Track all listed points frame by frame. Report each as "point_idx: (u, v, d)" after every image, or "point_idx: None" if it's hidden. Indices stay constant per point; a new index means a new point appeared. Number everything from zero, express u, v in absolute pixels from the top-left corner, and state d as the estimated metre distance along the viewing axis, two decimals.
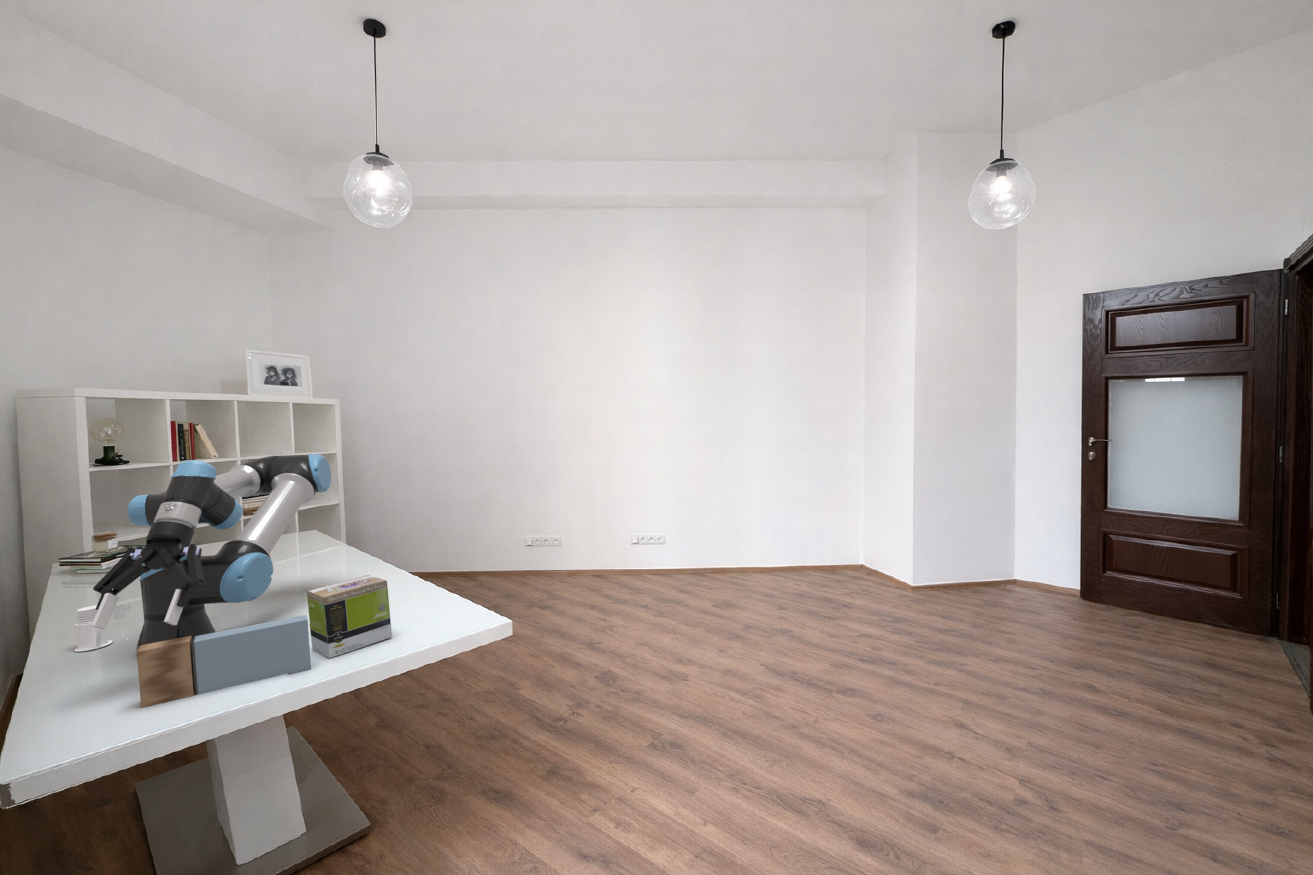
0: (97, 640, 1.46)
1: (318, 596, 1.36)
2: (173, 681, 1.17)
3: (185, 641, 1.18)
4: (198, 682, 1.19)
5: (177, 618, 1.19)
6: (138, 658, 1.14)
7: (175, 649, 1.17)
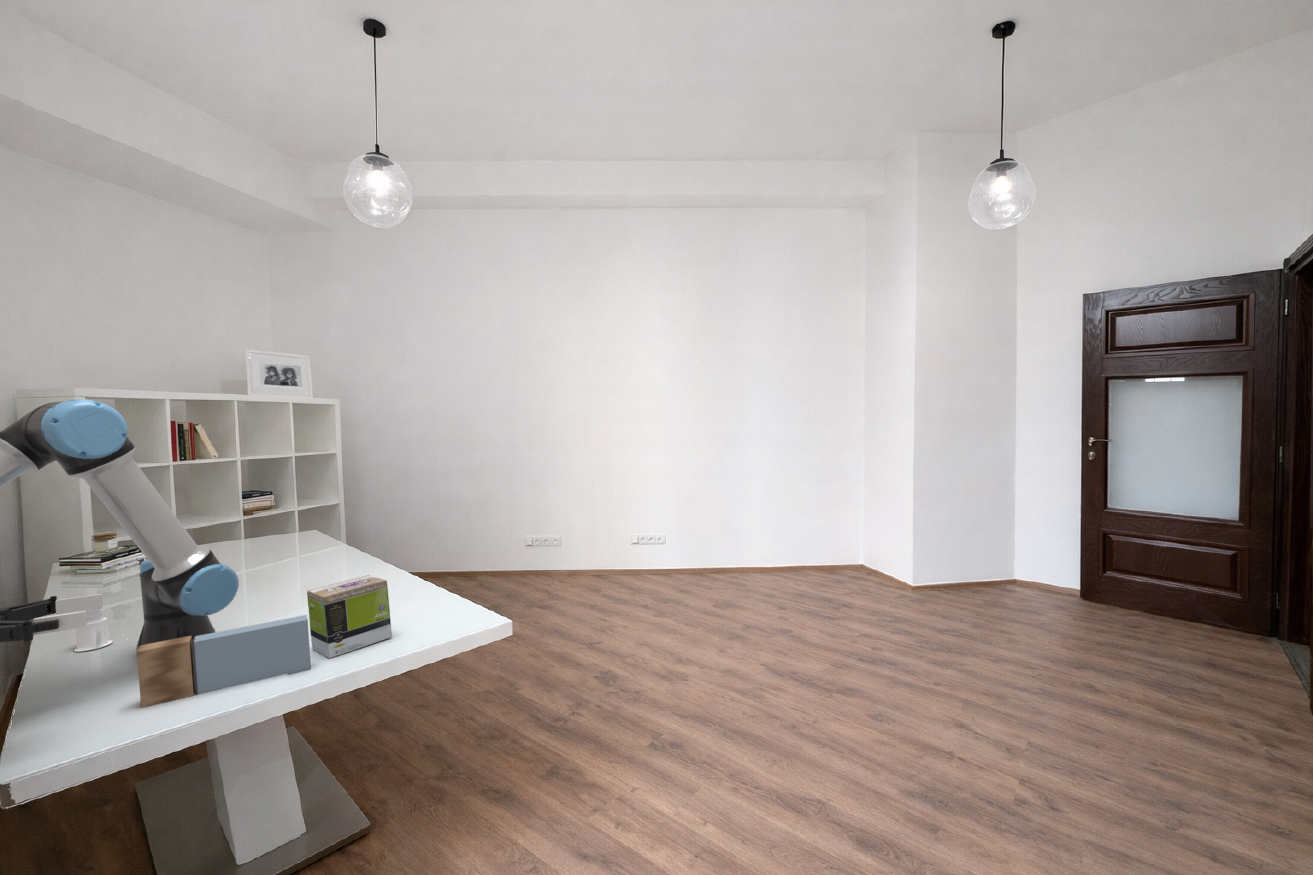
0: (97, 640, 1.46)
1: (318, 596, 1.36)
2: (173, 681, 1.17)
3: (185, 641, 1.18)
4: (198, 682, 1.19)
5: (75, 615, 1.05)
6: (138, 658, 1.14)
7: (175, 649, 1.17)
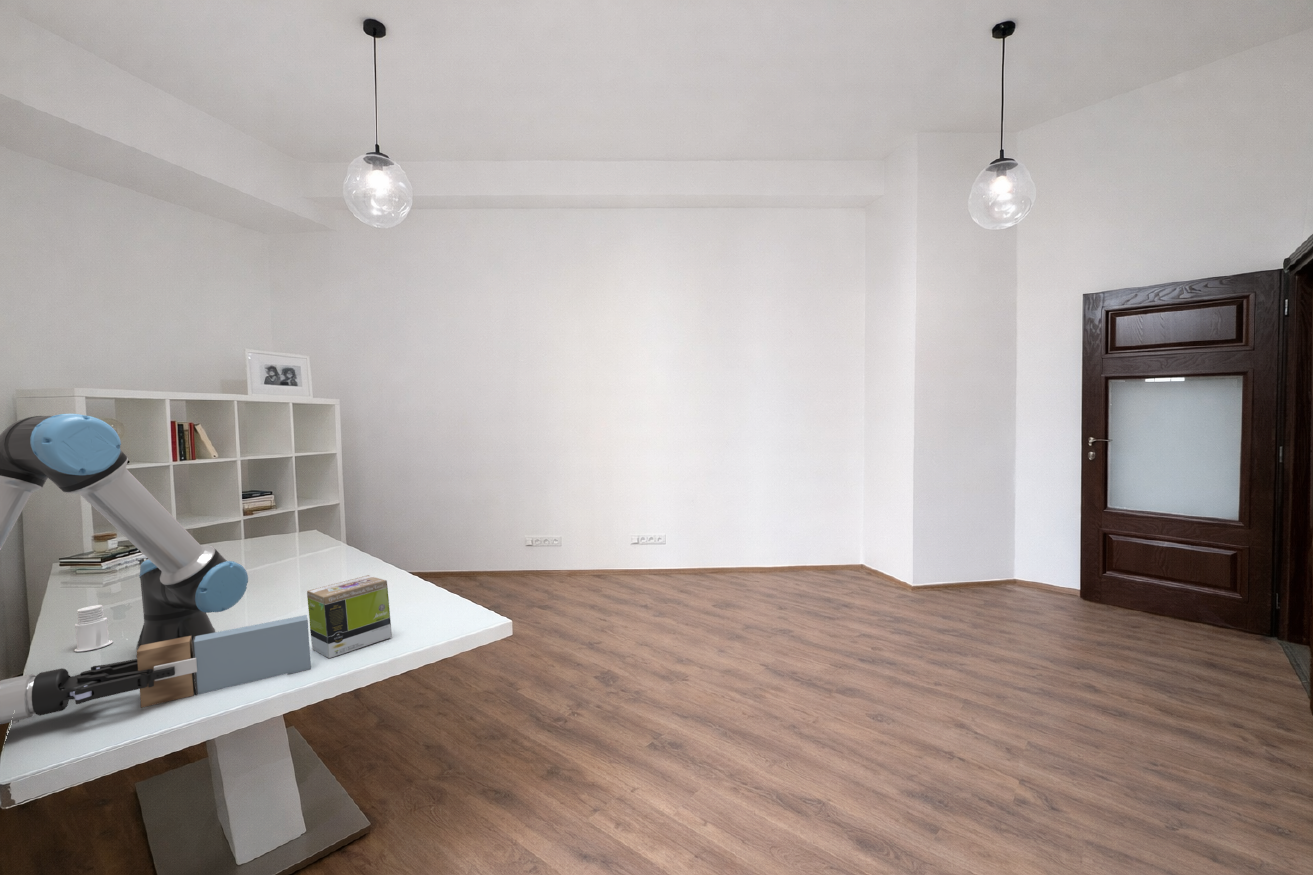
0: (97, 640, 1.46)
1: (318, 596, 1.36)
2: (173, 681, 1.17)
3: (185, 641, 1.18)
4: (198, 682, 1.19)
5: (188, 662, 1.18)
6: (138, 658, 1.14)
7: (175, 649, 1.17)
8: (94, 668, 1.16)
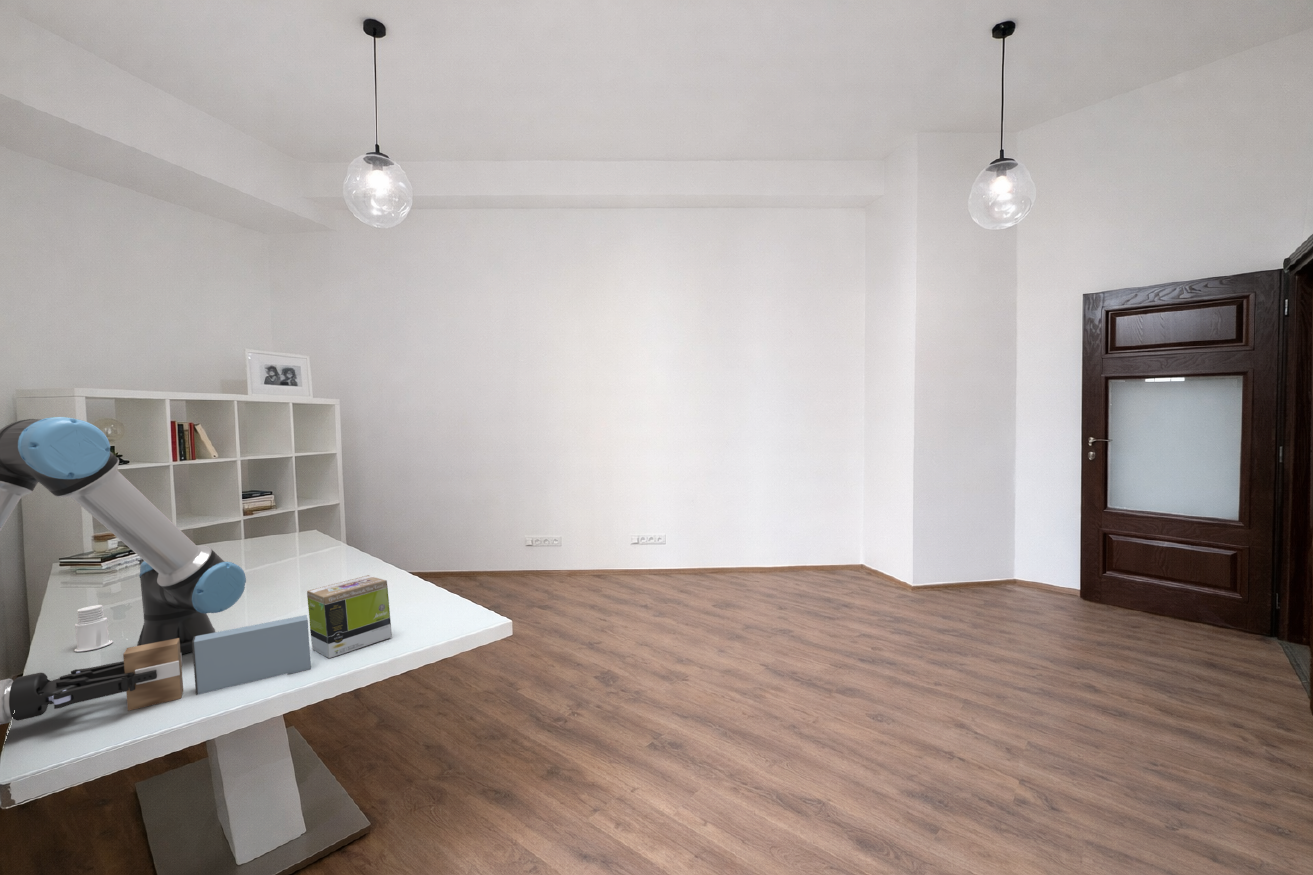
0: (97, 640, 1.46)
1: (318, 596, 1.36)
2: (160, 684, 1.16)
3: (173, 643, 1.17)
4: (198, 682, 1.19)
5: (171, 665, 1.16)
6: (125, 661, 1.13)
7: (163, 652, 1.16)
8: (74, 672, 1.14)
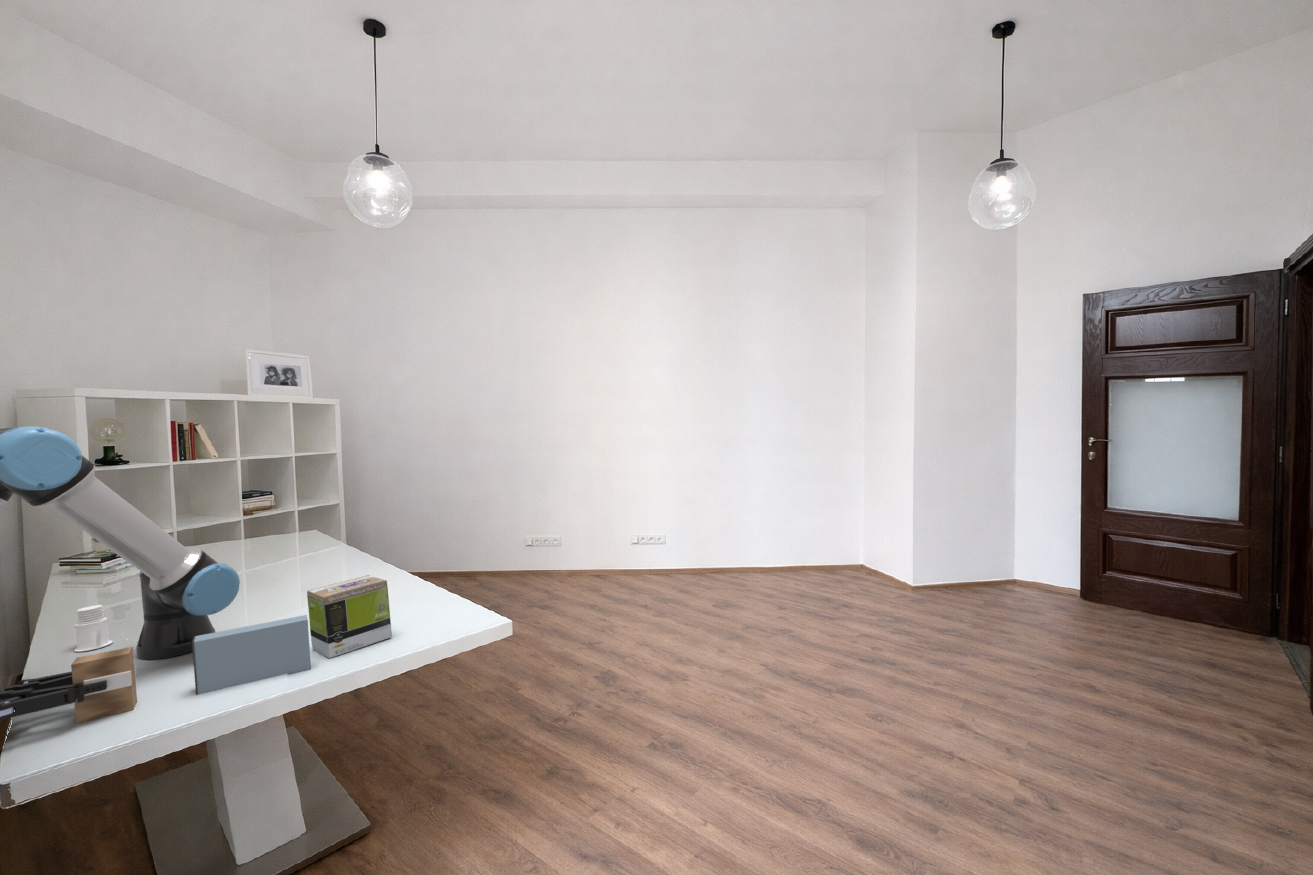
0: (97, 640, 1.46)
1: (318, 596, 1.36)
2: (111, 695, 1.12)
3: (124, 653, 1.13)
4: (198, 682, 1.19)
5: (122, 675, 1.12)
6: (73, 671, 1.09)
7: (114, 661, 1.12)
8: (22, 682, 1.11)
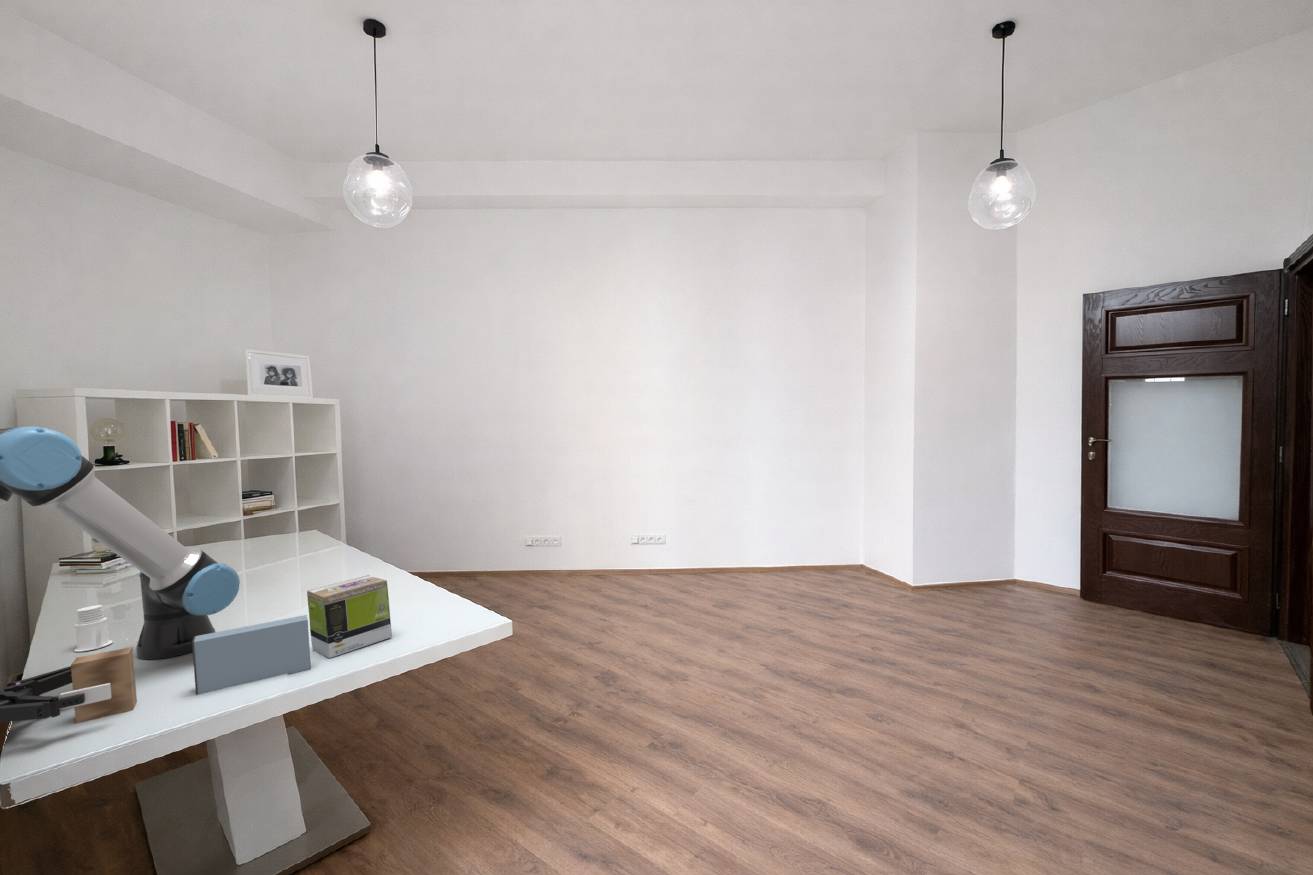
0: (97, 640, 1.46)
1: (318, 596, 1.36)
2: None
3: (124, 653, 1.13)
4: (198, 682, 1.19)
5: (100, 688, 1.07)
6: (72, 671, 1.09)
7: (113, 661, 1.12)
8: (12, 684, 1.10)
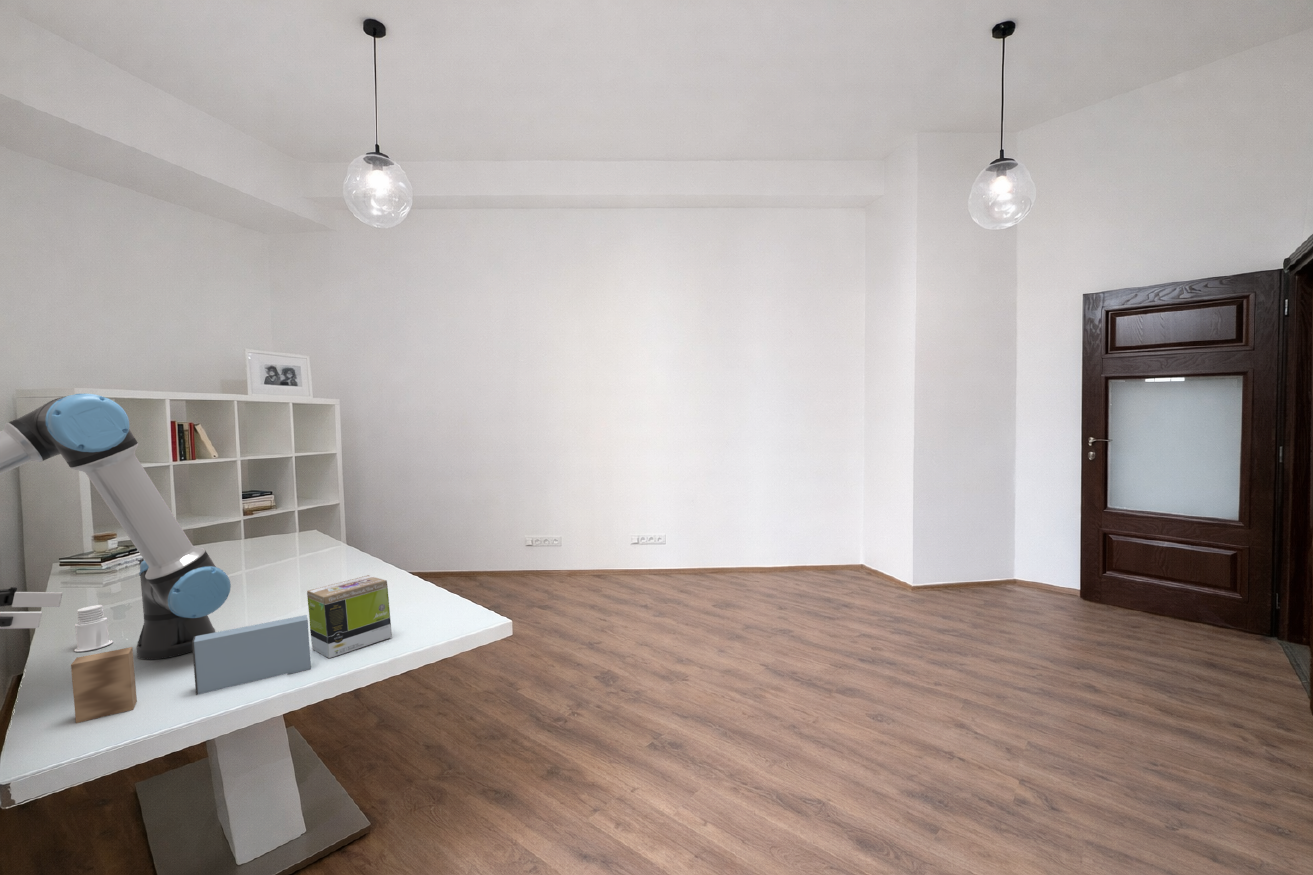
0: (97, 640, 1.46)
1: (318, 596, 1.36)
2: (110, 695, 1.12)
3: (124, 653, 1.13)
4: (198, 682, 1.19)
5: (31, 615, 1.04)
6: (72, 671, 1.09)
7: (113, 661, 1.12)
8: None
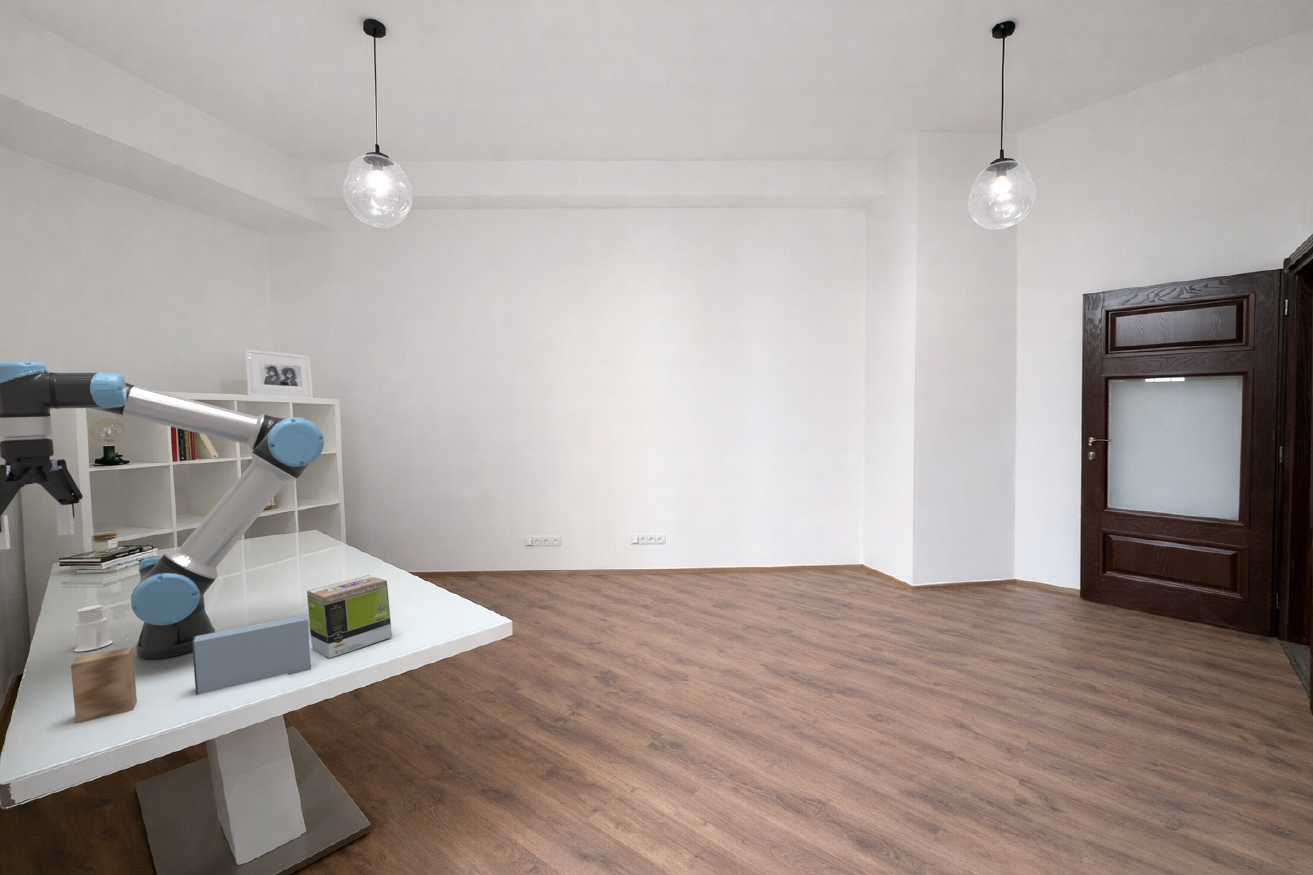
0: (97, 640, 1.46)
1: (318, 596, 1.36)
2: (110, 695, 1.12)
3: (124, 653, 1.13)
4: (198, 682, 1.19)
5: (3, 543, 1.15)
6: (72, 671, 1.09)
7: (113, 661, 1.12)
8: (60, 463, 1.27)
